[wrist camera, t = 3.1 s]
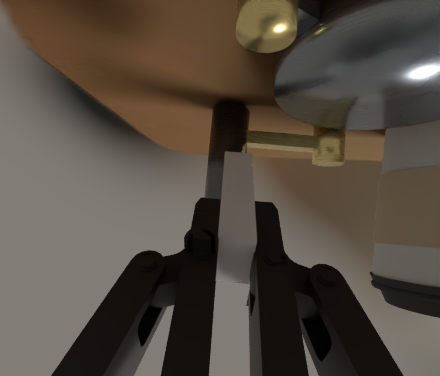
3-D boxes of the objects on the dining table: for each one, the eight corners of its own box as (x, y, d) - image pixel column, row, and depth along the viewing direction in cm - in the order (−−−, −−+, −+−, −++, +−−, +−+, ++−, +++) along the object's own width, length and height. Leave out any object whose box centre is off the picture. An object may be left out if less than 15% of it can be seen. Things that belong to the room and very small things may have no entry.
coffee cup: (351, 127, 26) (346, 303, 24) (484, 92, 18) (495, 345, 16) (401, 149, 31) (401, 297, 29) (522, 129, 23) (534, 327, 21)
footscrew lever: (352, 111, 22) (349, 241, 21) (337, 125, 25) (333, 240, 24) (212, 99, 22) (200, 228, 21) (213, 114, 25) (202, 228, 24)
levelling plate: (719, -24, 10) (730, 35, 10) (451, 112, 21) (452, 141, 21) (243, -61, 10) (238, -4, 10) (231, 94, 22) (228, 122, 21)
